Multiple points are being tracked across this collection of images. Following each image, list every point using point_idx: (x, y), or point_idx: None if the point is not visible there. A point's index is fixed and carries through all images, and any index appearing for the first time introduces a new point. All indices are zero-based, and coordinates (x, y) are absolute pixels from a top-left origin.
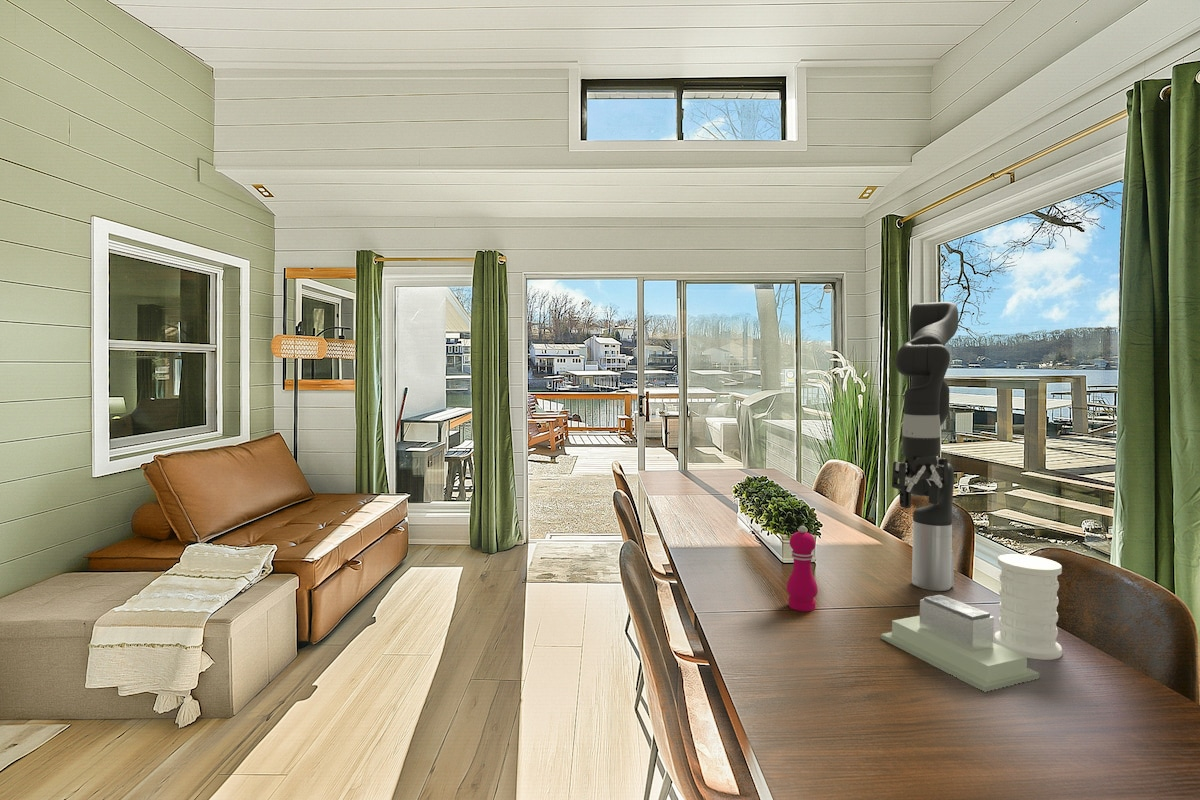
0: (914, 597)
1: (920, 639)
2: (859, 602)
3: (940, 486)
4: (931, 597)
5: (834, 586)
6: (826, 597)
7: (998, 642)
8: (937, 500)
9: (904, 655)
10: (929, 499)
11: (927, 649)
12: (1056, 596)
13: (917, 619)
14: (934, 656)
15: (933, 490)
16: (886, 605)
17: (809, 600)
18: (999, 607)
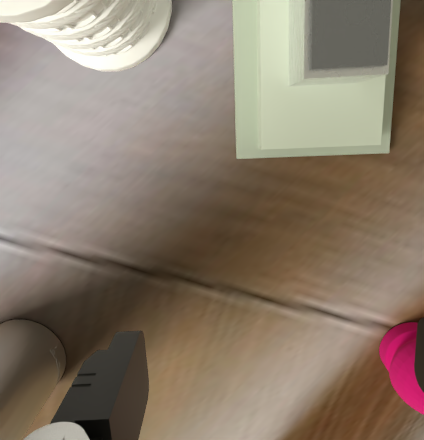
0: (121, 312)
1: None
2: (266, 327)
3: (55, 434)
4: (364, 54)
5: (246, 417)
6: (314, 372)
7: (166, 25)
8: (130, 343)
9: (409, 62)
10: (144, 403)
11: None
12: None
13: (314, 129)
14: None
15: (121, 437)
16: (221, 295)
17: None
18: (129, 23)
